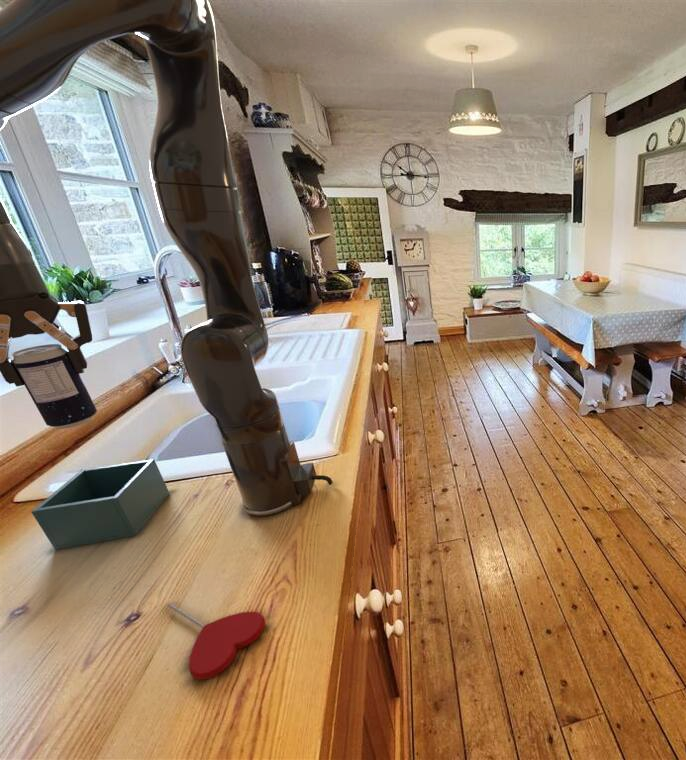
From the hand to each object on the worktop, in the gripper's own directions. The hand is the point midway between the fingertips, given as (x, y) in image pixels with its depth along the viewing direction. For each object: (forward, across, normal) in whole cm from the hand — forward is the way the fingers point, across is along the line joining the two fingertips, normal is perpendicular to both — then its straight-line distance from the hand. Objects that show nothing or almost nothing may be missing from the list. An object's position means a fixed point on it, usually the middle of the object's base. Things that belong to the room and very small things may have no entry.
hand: (52, 377), depth 61 cm
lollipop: (+26, +6, -36) cm, 45 cm away
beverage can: (+8, 0, 0) cm, 8 cm away
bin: (+26, -1, 0) cm, 26 cm away
